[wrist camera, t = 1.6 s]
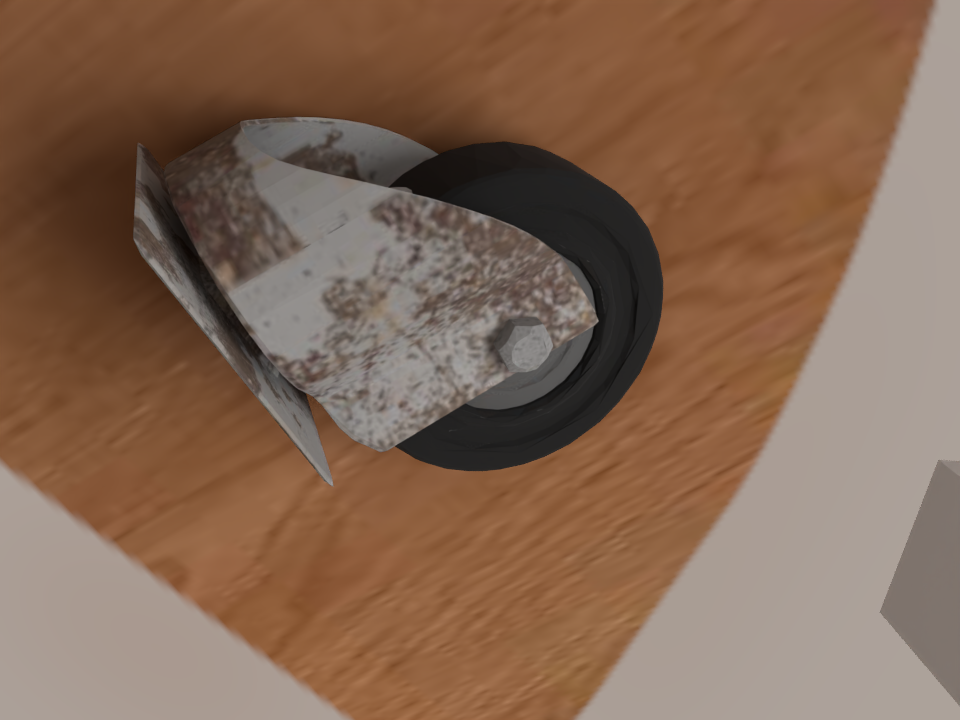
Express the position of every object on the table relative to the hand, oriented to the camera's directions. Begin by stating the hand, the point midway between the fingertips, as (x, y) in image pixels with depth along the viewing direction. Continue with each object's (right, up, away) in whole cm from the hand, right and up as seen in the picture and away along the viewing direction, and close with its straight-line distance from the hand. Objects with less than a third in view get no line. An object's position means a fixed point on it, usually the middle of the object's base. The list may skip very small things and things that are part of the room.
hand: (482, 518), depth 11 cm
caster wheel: (-1, +5, +11) cm, 12 cm away
